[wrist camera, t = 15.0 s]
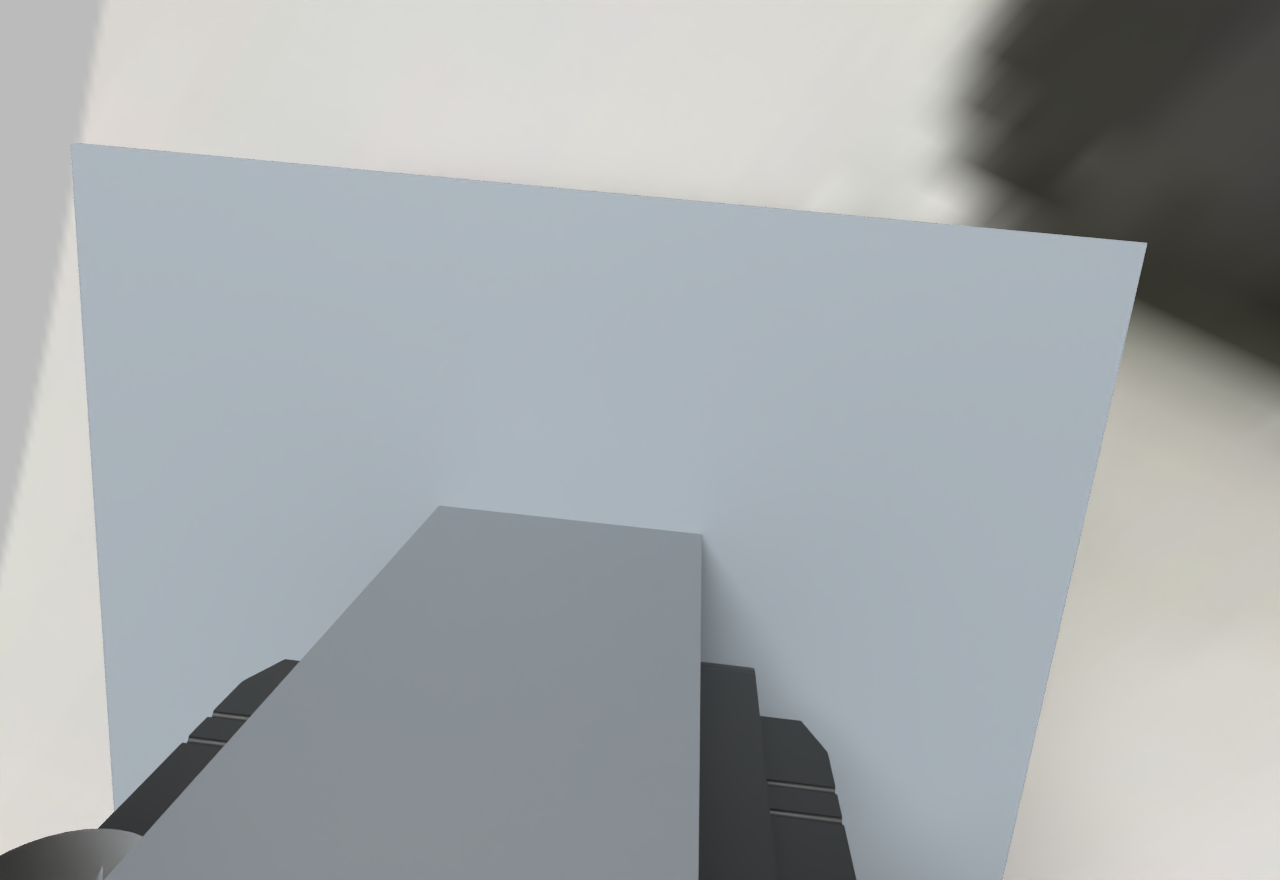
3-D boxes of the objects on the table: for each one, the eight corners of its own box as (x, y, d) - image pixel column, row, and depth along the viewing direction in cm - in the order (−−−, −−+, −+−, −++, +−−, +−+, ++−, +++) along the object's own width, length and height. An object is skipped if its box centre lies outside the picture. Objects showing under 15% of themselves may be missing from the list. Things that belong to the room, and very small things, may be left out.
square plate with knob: (933, 226, 18) (1930, 304, 3) (847, 734, 20) (1183, 1963, 6) (368, 173, 18) (-904, 40, 4) (361, 676, 21) (-381, 1688, 7)
